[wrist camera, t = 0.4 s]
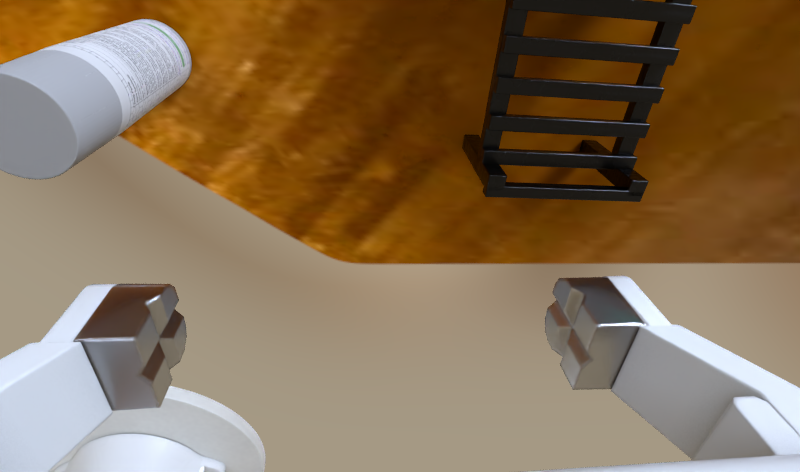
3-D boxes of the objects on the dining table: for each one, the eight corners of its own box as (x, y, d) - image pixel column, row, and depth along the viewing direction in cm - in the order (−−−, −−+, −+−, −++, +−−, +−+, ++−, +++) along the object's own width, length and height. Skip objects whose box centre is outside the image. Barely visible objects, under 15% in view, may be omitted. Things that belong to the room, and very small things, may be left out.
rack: (590, 158, 38) (640, 202, 31) (461, 152, 36) (485, 197, 30) (665, -70, 29) (756, -77, 22) (500, -88, 28) (546, -101, 21)
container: (147, 100, 32) (12, 197, 19) (102, 33, 29) (-86, 94, 17) (205, 77, 31) (106, 160, 19) (165, 7, 29) (20, 49, 16)
